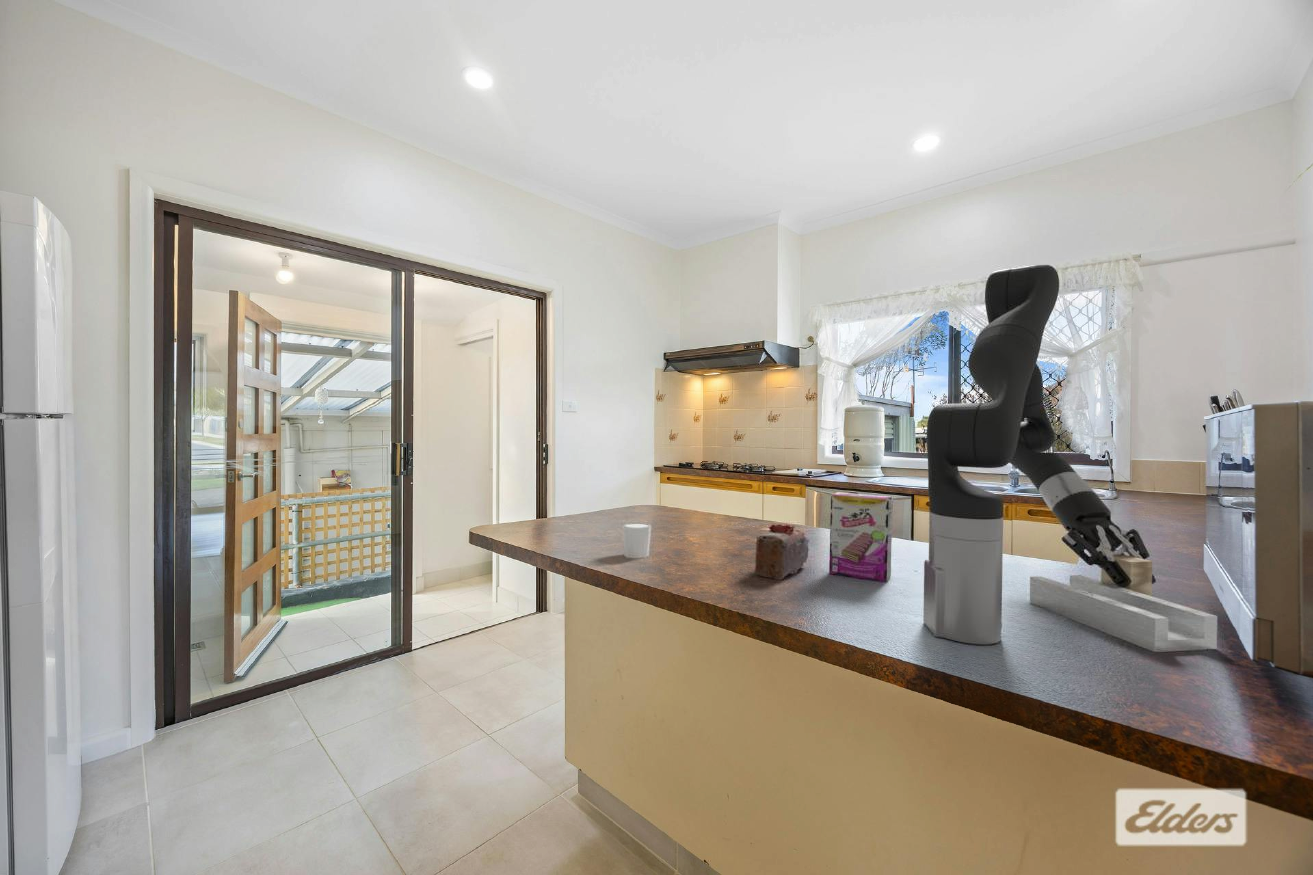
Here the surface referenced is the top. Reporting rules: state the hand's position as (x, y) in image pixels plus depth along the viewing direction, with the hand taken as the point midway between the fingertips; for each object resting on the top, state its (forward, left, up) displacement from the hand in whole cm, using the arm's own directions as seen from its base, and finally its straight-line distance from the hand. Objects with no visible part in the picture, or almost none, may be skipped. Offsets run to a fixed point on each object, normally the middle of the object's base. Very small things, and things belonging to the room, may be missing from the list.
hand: (1137, 584), depth 87 cm
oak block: (-1, +2, -4) cm, 5 cm away
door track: (-8, -9, -4) cm, 13 cm away
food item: (-57, +9, -4) cm, 58 cm away
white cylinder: (-90, +14, -4) cm, 91 cm away
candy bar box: (-42, +9, -4) cm, 43 cm away
